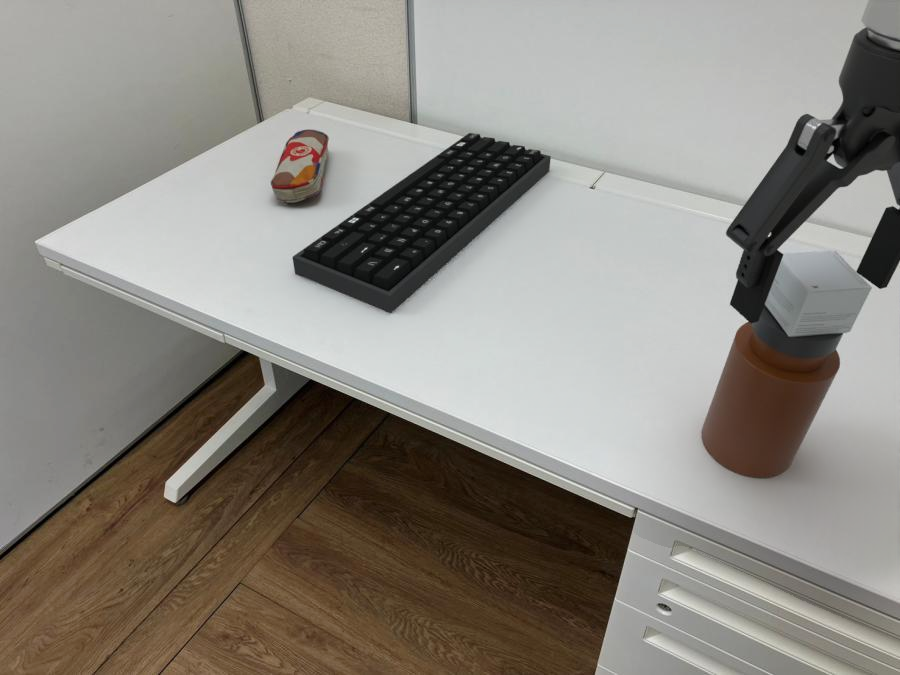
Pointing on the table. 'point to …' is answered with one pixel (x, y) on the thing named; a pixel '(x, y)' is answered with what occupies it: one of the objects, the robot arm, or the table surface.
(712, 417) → the bottle
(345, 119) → the table surface
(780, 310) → the small box
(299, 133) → the pencil case
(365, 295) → the computer keyboard
